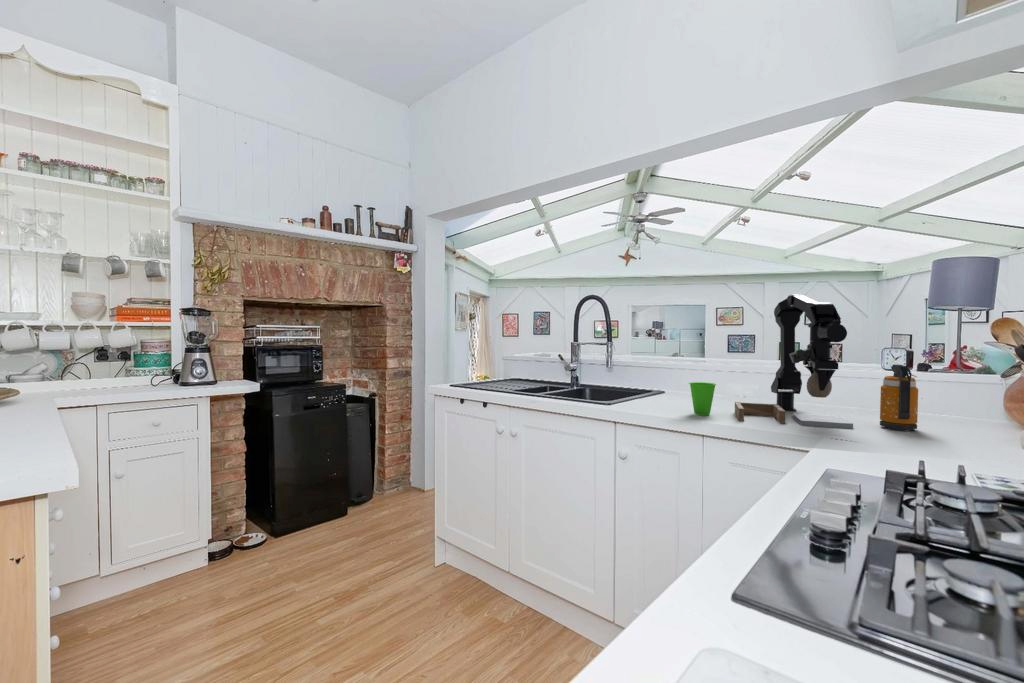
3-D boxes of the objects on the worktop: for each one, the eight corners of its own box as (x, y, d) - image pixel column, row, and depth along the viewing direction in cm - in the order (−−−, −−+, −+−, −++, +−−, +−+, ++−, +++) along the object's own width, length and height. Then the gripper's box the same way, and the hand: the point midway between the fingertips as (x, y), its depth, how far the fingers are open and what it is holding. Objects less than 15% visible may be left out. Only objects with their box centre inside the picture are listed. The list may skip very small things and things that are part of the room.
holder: (734, 412, 172) (734, 402, 172) (777, 415, 167) (777, 404, 167) (738, 420, 158) (739, 408, 158) (785, 423, 153) (785, 411, 153)
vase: (828, 395, 157) (828, 369, 157) (834, 398, 150) (834, 371, 150) (804, 394, 159) (804, 368, 159) (809, 397, 153) (809, 370, 153)
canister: (911, 427, 148) (913, 363, 148) (924, 434, 138) (926, 366, 138) (876, 424, 152) (877, 362, 152) (886, 431, 142) (888, 364, 141)
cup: (711, 412, 173) (711, 382, 173) (719, 416, 164) (719, 385, 164) (685, 411, 174) (686, 381, 174) (692, 416, 165) (693, 384, 165)
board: (791, 417, 164) (791, 413, 164) (839, 420, 159) (839, 415, 159) (800, 425, 151) (800, 420, 151) (853, 428, 146) (853, 423, 146)
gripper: (786, 340, 166) (785, 384, 166) (797, 341, 149) (796, 391, 149) (823, 340, 162) (822, 386, 162) (839, 342, 145) (838, 393, 145)
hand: (819, 389), depth 155 cm, fingers closed on vase, 7 cm apart
